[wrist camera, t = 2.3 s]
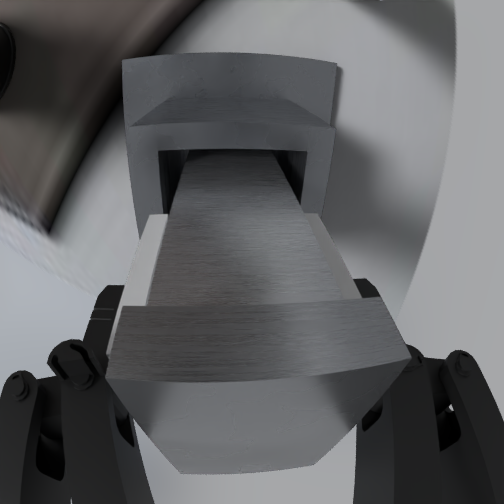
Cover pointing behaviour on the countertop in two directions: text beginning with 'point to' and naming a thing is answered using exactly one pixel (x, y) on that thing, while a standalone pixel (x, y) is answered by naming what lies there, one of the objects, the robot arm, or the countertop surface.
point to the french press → (6, 57)
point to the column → (248, 329)
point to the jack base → (226, 119)
